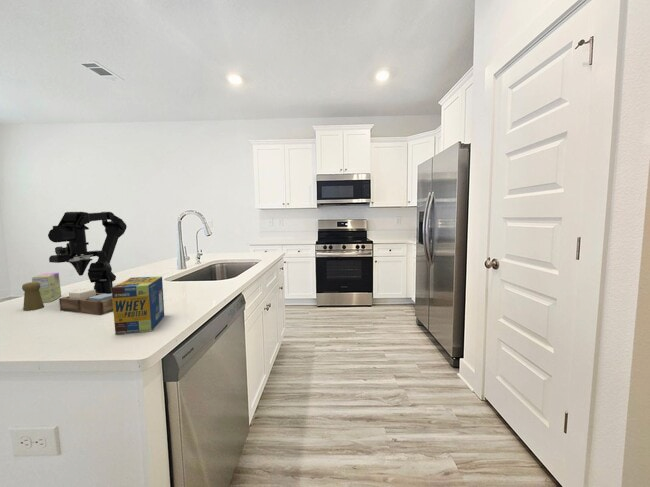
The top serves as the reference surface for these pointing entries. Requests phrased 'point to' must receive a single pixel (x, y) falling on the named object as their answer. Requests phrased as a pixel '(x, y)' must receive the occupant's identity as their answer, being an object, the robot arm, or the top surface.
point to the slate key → (101, 297)
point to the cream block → (82, 294)
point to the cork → (32, 296)
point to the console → (86, 305)
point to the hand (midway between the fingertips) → (80, 275)
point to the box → (48, 286)
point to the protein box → (138, 304)
